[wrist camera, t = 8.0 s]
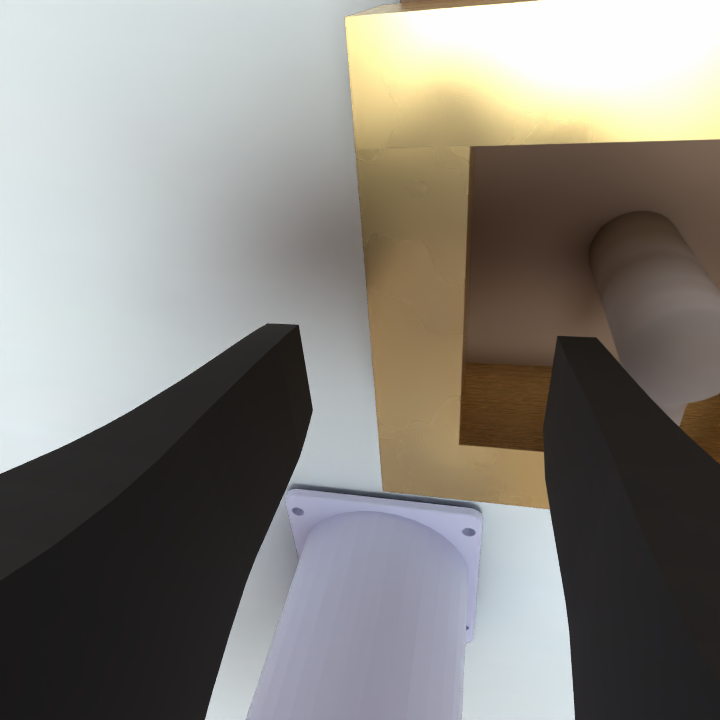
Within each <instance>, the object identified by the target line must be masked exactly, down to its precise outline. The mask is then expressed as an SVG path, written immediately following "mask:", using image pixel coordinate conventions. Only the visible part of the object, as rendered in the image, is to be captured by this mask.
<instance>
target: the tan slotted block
mask: <svg viewBox="0 0 720 720" xmlns="http://www.w3.org/2000/svg"><path fill="white" fill-rule="evenodd" d="M345 25H346V38H347V50H348V63H349V75H350V88H351V100H352V113H353V125H354V138H355V150H356V163H357V175H358V188H359V200H360V212H361V225H362V237H363V250H364V262H365V275H366V287H367V300H368V312H369V325H370V337H371V350H372V362H373V375H374V387H375V399H376V412H377V424H378V437H379V449H380V462H381V474H382V487H383V491H385V492H394V493H403V494H413V495H422V496H431V497H440V498H450V499H459V500H468V501H478V502H487V503H496V504H505V505H515V506H524V507H533V508H543V509H550V507H549V501H548V495H547V488H546V482H545V468H544V443H543V425H544V418H545V412H546V405H547V399H548V392H549V386H550V380H551V373H552V367H550V366H532V365H514V364H495V363H477V362H466V346H467V322H468V298H469V274H470V251H471V227H472V203H473V179H474V155H475V146H498V145H533V144H568V143H603V142H637V141H672V140H707V139H720V0H433V1H421V2H410V3H398V4H387V5H381V6H378V7H374V8H371V9H368V10H365V11H362V12H359V13H356V14H352V15H349V16H346V17H345ZM679 427H680V428H681V429H682V430H683V431H684V432H685V433H686V434H687V435H688V436H689V437H690V438H691V439H692V440H694V441H695V442H696V443H697V444H698V445H699V446H700V447H701V448H702V449H703V450H705V451H706V452H707V453H708V454H709V455H710V456H711V457H712V458H713V459H714V460H716V461H717V462H718V463H719V464H720V393H719V394H717V395H715V396H713V397H710V398H707V399H705V400H701V401H697V402H692V403H687V406H686V409H685V412H684V414H683V417H682V420H681V423H680V426H679Z"/></svg>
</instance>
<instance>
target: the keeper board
mask: <svg viewBox="0 0 720 720" xmlns="http://www.w3.org/2000/svg"><path fill="white" fill-rule="evenodd" d="M421 1H433V0H401V3H410V2H421ZM557 336H575V337H597V339H598V340H599V341H600V342H601V343H602V344H603V345H604V346H605V347H606V349H607V350H608V351H609V352H610V353H611V354H612V355H613V356H614V358H615V359H616V360H617V361H618V362H619V363H620V364H621V366H622V367H623V368H624V369H625V370H626V371H627V372H628V374H629V375H630V376H631V377H632V378H633V379H634V380H635V381H636V382H637V384H638V385H639V386H640V387H641V388H642V389H643V390H644V391H645V392H646V393H647V395H648V396H649V397H650V398H651V399H652V400H653V401H654V402H655V403H656V404H657V405H658V406H659V407H660V408H661V409H662V410H663V411H664V412H665V413H666V414H667V415H668V416H669V417H670V418H671V419H672V420H673V421H674V422H675V423H676V424H677V425H678V426H680V423H681V420H682V417H683V414H684V412H685V409H686V406H687V403H692V402H697V401H701V400H705V399H707V398H710V397H713V396H715V395H717V394H719V393H720V139H707V140H672V141H637V142H603V143H568V144H533V145H498V146H475V155H474V179H473V203H472V227H471V251H470V274H469V298H468V322H467V346H466V362H477V363H495V364H514V365H532V366H550V367H553V360H554V354H555V347H556V341H557Z"/></svg>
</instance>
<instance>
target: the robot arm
mask: <svg viewBox="0 0 720 720" xmlns="http://www.w3.org/2000/svg"><path fill="white" fill-rule="evenodd" d="M312 411H313V408H312V402H311V396H310V390H309V384H308V378H307V372H306V366H305V360H304V354H303V348H302V342H301V336H300V330H299V325H291V324H266V325H264V326H262V327H261V328H259V329H257V330H255V331H254V332H252V333H251V334H249V335H248V336H246V337H245V338H243V339H242V340H240V341H239V342H237V343H236V344H234V345H233V346H231V347H230V348H228V349H227V350H225V351H224V352H223V353H221V354H220V355H218V356H217V357H215V358H214V359H212V360H211V361H209V362H208V363H206V364H205V365H203V366H202V367H200V368H199V369H197V370H196V371H194V372H193V373H191V374H190V375H188V376H187V377H185V378H184V379H182V380H181V381H179V382H177V383H176V384H174V385H173V386H171V387H169V388H168V389H166V390H164V391H163V392H161V393H160V394H158V395H156V396H155V397H153V398H151V399H150V400H148V401H147V402H145V403H143V404H142V405H140V406H139V407H137V408H135V409H134V410H132V411H130V412H128V413H127V414H125V415H123V416H121V417H119V418H118V419H116V420H114V421H112V422H110V423H108V424H107V425H105V426H103V427H101V428H99V429H97V430H95V431H93V432H91V433H89V434H87V435H85V436H83V437H81V438H79V439H77V440H75V441H73V442H71V443H69V444H67V445H65V446H63V447H61V448H59V449H57V450H54V451H52V452H50V453H47V454H45V455H43V456H40V457H38V458H36V459H34V460H31V461H29V462H27V463H24V464H22V465H20V466H18V467H15V468H13V469H11V470H8V471H6V472H4V473H2V474H0V720H205V717H206V713H207V709H208V706H209V702H210V698H211V695H212V691H213V688H214V684H215V681H216V678H217V674H218V671H219V668H220V664H221V661H222V658H223V654H224V651H225V648H226V644H227V641H228V637H229V634H230V631H231V628H232V625H233V622H234V619H235V615H236V612H237V609H238V606H239V603H240V600H241V597H242V594H243V591H244V587H245V584H246V581H247V579H248V576H249V574H250V571H251V569H252V566H253V563H254V561H255V558H256V556H257V554H258V551H259V549H260V547H261V545H262V542H263V540H264V538H265V535H266V533H267V531H268V529H269V526H270V524H271V522H272V520H273V517H274V515H275V513H276V511H277V508H278V506H279V504H280V501H281V499H282V497H283V495H284V492H285V490H286V488H287V485H288V483H289V481H290V478H291V476H292V474H293V471H294V469H295V467H296V464H297V462H298V460H299V457H300V454H301V451H302V448H303V444H304V441H305V438H306V434H307V430H308V427H309V423H310V419H311V415H312ZM543 443H544V468H545V482H546V488H547V495H548V501H549V507H550V513H551V519H552V525H553V530H554V536H555V542H556V548H557V554H558V560H559V566H560V571H561V577H562V583H563V589H564V595H565V601H566V609H567V617H568V625H569V634H570V649H571V663H572V677H573V692H574V708H575V720H720V464H719V463H718V462H717V461H716V460H714V459H713V458H712V457H711V456H710V455H709V454H708V453H707V452H706V451H705V450H703V449H702V448H701V447H700V446H699V445H698V444H697V443H696V442H695V441H694V440H692V439H691V438H690V437H689V436H688V435H687V434H686V433H685V432H684V431H683V430H682V429H681V428H680V427H679V426H678V425H677V424H676V423H675V422H674V421H673V420H672V419H671V418H670V417H669V416H668V415H667V414H666V413H665V412H664V411H663V410H662V409H661V408H660V407H659V406H658V405H657V404H656V403H655V402H654V401H653V400H652V399H651V398H650V397H649V396H648V395H647V393H646V392H645V391H644V390H643V389H642V388H641V387H640V386H639V385H638V384H637V382H636V381H635V380H634V379H633V378H632V377H631V376H630V375H629V374H628V372H627V371H626V370H625V369H624V368H623V367H622V366H621V364H620V363H619V362H618V361H617V360H616V359H615V358H614V356H613V355H612V354H611V353H610V352H609V351H608V350H607V349H606V347H605V346H604V345H603V344H602V343H601V342H600V341H599V340H598V339H597V337H575V336H557V341H556V347H555V354H554V360H553V367H552V373H551V380H550V386H549V392H548V399H547V405H546V412H545V418H544V425H543ZM285 503H286V507H287V511H288V516H289V520H290V524H291V528H292V532H293V537H294V541H295V545H296V549H297V553H298V558H299V563H298V566H297V569H296V572H295V575H294V578H293V581H292V584H291V587H290V589H289V592H288V595H287V598H286V601H285V604H284V607H283V610H282V613H281V616H280V619H279V622H278V625H277V628H276V631H275V634H274V637H273V640H272V643H271V646H270V649H269V652H268V655H267V658H266V661H265V664H264V667H263V670H262V673H261V676H260V679H259V682H258V685H257V688H256V691H255V694H254V697H253V699H252V702H251V705H250V708H249V711H248V714H247V717H246V720H461V719H462V699H463V679H464V659H465V644H467V643H470V642H472V641H473V636H474V624H475V612H476V599H477V587H478V575H479V562H480V550H481V538H482V525H483V517H482V514H481V513H480V512H479V511H477V510H475V509H472V508H466V507H457V506H448V505H439V504H430V503H421V502H412V501H403V500H394V499H385V498H376V497H367V496H357V495H348V494H339V493H330V492H321V491H312V490H303V489H292V490H289V492H288V493H287V495H286V498H285Z"/></svg>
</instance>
